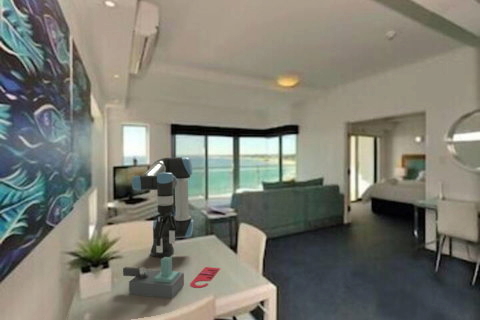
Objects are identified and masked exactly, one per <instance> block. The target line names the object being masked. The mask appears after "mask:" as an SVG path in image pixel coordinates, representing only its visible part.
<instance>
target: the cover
mask: <svg viewBox="0 0 480 320" xmlns="http://www.w3.org/2000/svg"><path fill="white" fill-rule="evenodd" d="M160 271H161V272H160V273H159V274H158V275H157V276H156V277H154V281H157V282H169V283H172V281H173V280H174V279H175V278H176V277H177V276H178V275H179V272H180V271H175V270H173V257H172V256H171V257H169V256H166V257H162V258H161V259H160Z"/></svg>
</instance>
